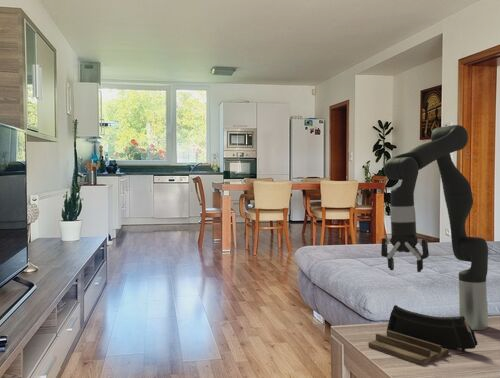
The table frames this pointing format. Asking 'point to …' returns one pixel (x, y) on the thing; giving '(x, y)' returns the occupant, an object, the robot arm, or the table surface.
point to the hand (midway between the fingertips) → (405, 270)
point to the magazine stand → (408, 347)
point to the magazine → (433, 329)
